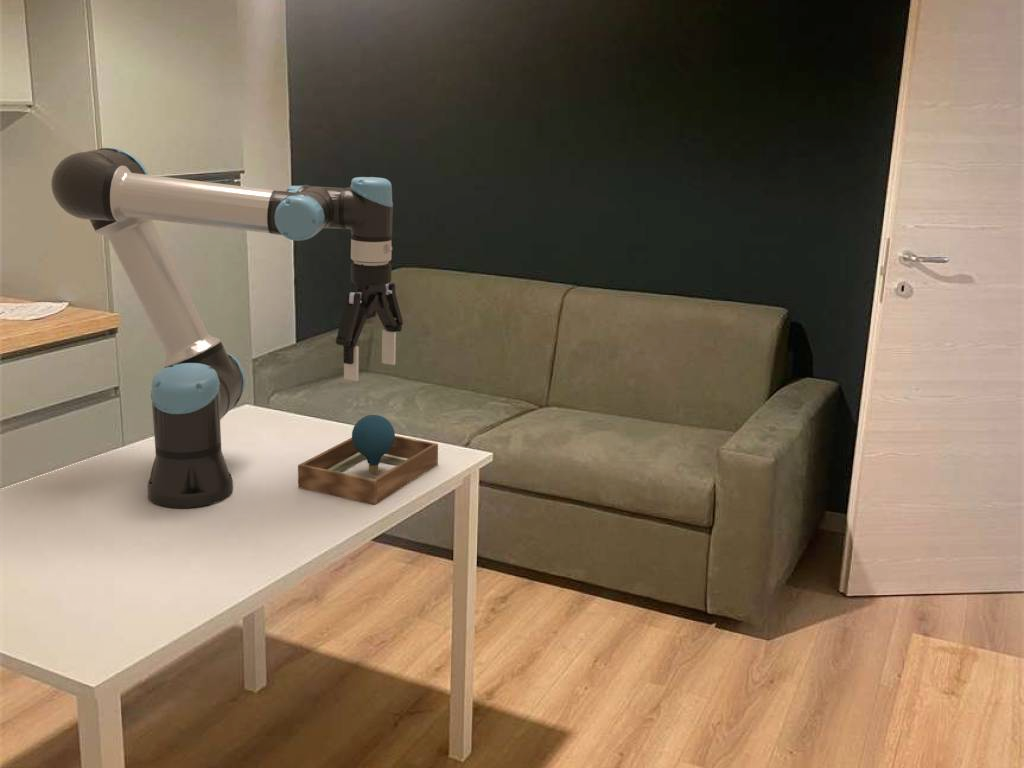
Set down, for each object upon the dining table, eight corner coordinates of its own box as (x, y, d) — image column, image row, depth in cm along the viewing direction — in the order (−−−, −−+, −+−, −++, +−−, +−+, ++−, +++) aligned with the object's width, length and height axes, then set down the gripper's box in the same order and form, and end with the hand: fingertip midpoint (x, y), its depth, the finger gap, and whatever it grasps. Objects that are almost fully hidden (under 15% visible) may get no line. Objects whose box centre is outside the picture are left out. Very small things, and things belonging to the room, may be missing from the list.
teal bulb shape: (392, 481, 205) (391, 423, 201) (349, 480, 205) (348, 421, 201) (397, 466, 213) (397, 409, 209) (356, 465, 213) (355, 408, 209)
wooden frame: (298, 487, 200) (297, 465, 199) (366, 450, 221) (366, 429, 220) (374, 504, 194) (374, 481, 192) (437, 464, 215) (438, 443, 213)
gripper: (352, 273, 184) (351, 390, 190) (421, 255, 206) (419, 360, 212) (316, 269, 187) (316, 383, 193) (388, 251, 209) (386, 354, 215)
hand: (370, 371), depth 202 cm, fingers open, 13 cm apart
